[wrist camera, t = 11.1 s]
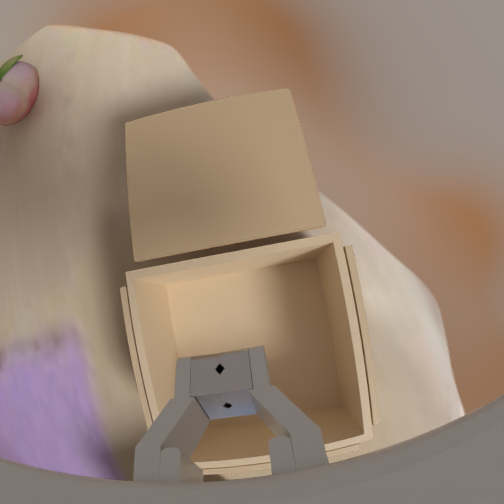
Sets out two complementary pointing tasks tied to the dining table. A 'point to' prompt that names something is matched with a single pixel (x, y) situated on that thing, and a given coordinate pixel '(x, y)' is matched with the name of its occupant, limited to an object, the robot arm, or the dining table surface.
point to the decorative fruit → (17, 90)
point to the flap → (219, 175)
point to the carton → (259, 340)
